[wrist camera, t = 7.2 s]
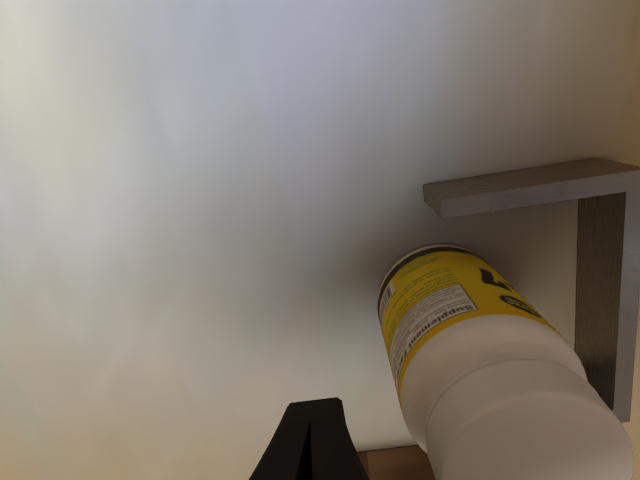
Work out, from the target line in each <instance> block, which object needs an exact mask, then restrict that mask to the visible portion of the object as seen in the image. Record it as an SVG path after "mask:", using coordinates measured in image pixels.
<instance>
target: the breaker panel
mask: <svg viewBox="0 0 640 480" xmlns="http://www.w3.org/2000/svg"><path fill="white" fill-rule="evenodd" d="M357 454H358V456H359V459H360V461H361V463H362V465H363V467H364V469H365V471H366V473H367V475H368V477H369V479H370V480H436V478H435V475H434V472H433V469H432V466H431V464H430V461H429V458H428V454H427V453H426V452H425V451H424V450H423V449H422V448H421V447H420V446H419V445H418V446H410V447H401V448H393V449H385V450H376V451H368V452H360V453H357Z"/></svg>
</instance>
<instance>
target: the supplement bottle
mask: <svg viewBox="0 0 640 480" xmlns="http://www.w3.org/2000/svg"><path fill="white" fill-rule="evenodd" d="M377 309H378V316H379V320H380V325H381V329H382V334H383V337H384V341H385V346H386V350H387V354H388V358H389V362H390V366H391V370H392V374H393V378H394V382H395V386H396V390H397V394H398V399H399V403H400V407H401V411H402V414H403V417H404V420H405V423H406V425H407V427H408V430H409V432H410V433H411V435H412V437H413V438H414V440H415V441H416V443H417V444H418V445H419V446H420V447H421V448H422V449H423V450H424V451H425V452H426V453H427V454H428V458H429V461H430V464H431V466H432V469H433V472H434V475H435V478H436V480H630V479H631V476H632V473H633V467H634V453H633V447H632V443H631V440H630V438H629V436H628V433H627V431H626V430H625V428H624V426H623V425H622V423H621V422H620V421H619V419H618V418H617V417H616V416H615V415H614V413H613V412H612V411H611V410H610V409H609V407H608V406H607V405H606V404H605V403H604V402H603V400H602V399H601V398H600V396H599V395H598V393H597V392H596V390H595V389H594V388H593V387H592V386H591V385H590V384H589V383H588V381H587V377H586V373H585V370H584V367H583V365H582V363H581V361H580V359H579V357H578V356H577V354H576V353H575V351H574V350H573V349H572V347H571V346H570V345H569V343H568V342H567V341H566V340H565V339H564V338H563V337H562V336H561V335H560V334H559V333H558V332H557V331H556V330H555V329H554V328H553V327H552V326H551V325H550V324H549V323H548V322H547V321H546V320H545V319H544V318H543V317H542V316H541V315H540V314H539V313H538V312H537V311H536V310H535V309H534V308H533V307H532V306H531V305H530V304H529V303H528V302H527V301H526V300H525V299H524V298H523V297H522V296H521V295H520V294H519V293H518V292H517V291H516V290H515V289H513V288H512V287H511V286H510V285H509V284H508V283H507V282H506V281H505V280H504V279H503V278H502V277H501V276H500V275H499V274H498V273H497V272H496V271H495V270H494V269H493V268H492V267H491V266H490V265H489V264H488V263H487V262H486V261H485V260H483V259H482V258H481V257H480V256H478V255H477V254H475V253H473V252H472V251H469V250H467V249H465V248H462V247H459V246H454V245H446V244H440V245H431V246H426V247H422V248H419V249H417V250H415V251H412V252H410V253H409V254H407V255H405V256H404V257H403V258H401V259H400V260H399V261H398V262H397V263H396V264H395V265H394V266H393V267H392V268H391V269H390V270H389V271H388V273H387V274H386V276H385V278H384V279H383V281H382V284H381V286H380V289H379V293H378V300H377Z"/></svg>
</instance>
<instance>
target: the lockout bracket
mask: <svg viewBox="0 0 640 480" xmlns="http://www.w3.org/2000/svg"><path fill="white" fill-rule="evenodd" d="M423 193H424V201H425V202H426V203H427V204H428V205H429V206H430V207H431V208H432V209H433V211H434V212H435V213H436V214H437V215H438V216H439V217H440V218H441V219H447V218H454V217H460V216H467V215H474V214H480V213H487V212H494V211H500V210H507V209H514V208H520V207H527V206H534V205H540V204H547V203H553V202H560V201H567V200H573V199H579V212H578V251H577V291H576V330H575V353H576V354H577V356H578V357H579V359H580V361H581V363H582V365H583V367H584V370H585V373H586V377H587V381H588V383H589V384H590V385H591V386H592V387H593V388H594V389H595V390H596V392H597V393H598V395H599V396H600V398H601V399H602V400H603V402H604V403H605V404H606V405H607V406H608V407H609V409H610V410H611V411H612V412H613V413H614V415H615V416H616V417H617V418H618V419H619V421H620V422H621V423H622V422H630V411H631V397H632V384H633V371H634V357H635V344H636V331H637V317H638V304H639V290H640V167H639V166H634V165H630V164H625V163H620V162H615V161H611V160H606V159H601V158H592V159H586V160H579V161H573V162H566V163H560V164H554V165H547V166H541V167H534V168H528V169H521V170H515V171H509V172H502V173H496V174H489V175H483V176H476V177H470V178H464V179H457V180H451V181H444V182H438V183H431V184H425V185H423Z"/></svg>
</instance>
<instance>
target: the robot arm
mask: <svg viewBox="0 0 640 480" xmlns="http://www.w3.org/2000/svg"><path fill="white" fill-rule="evenodd" d="M249 480H370V479H369V477H368V475H367V473H366V471H365V469H364V467H363V465H362V463H361V461H360V459H359V456H358V454H357V452H356V449H355V447H354V445H353V442H352V440H351V437H350V435H349V432H348V429H347V426H346V422H345V416H344V410H343V405H342V400H340V399H339V398H337V397H336V398H327V399H319V400H311V401H303V402H295V403H290V404H289V406H288V407H287V408H286V411H285V413H284V415H283V417H282V419H281V422H280V424H279V426H278V428H277V430H276V432H275V434H274V436H273V438H272V440H271V441H270V443H269V445H268V447H267V449H266V451H265V452H264V454H263V456H262V458H261V460H260V461H259V463H258V465H257V467H256V468H255V470H254V472H253V474H252V475H251V477H250V478H249Z"/></svg>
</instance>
